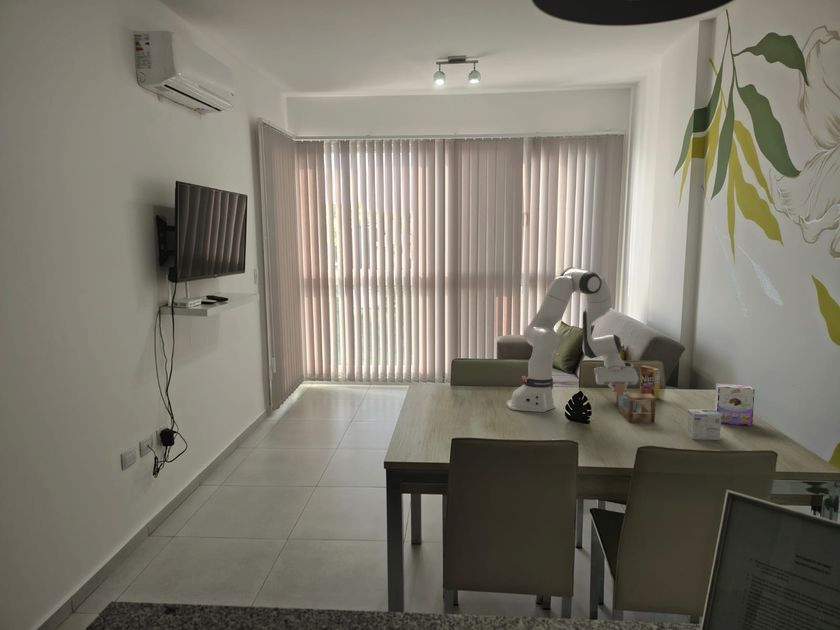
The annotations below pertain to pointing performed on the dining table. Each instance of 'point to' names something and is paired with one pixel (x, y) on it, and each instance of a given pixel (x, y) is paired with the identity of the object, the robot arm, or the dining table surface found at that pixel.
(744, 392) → the candy box
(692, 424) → the light bulb box
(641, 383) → the candy box
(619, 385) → the tethered block
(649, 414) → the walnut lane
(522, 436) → the dining table surface
